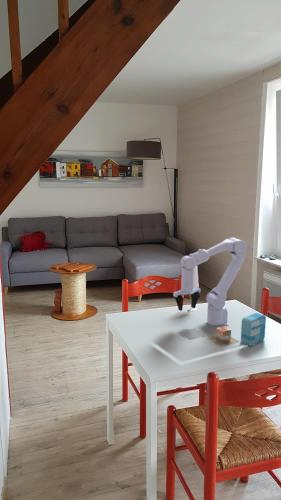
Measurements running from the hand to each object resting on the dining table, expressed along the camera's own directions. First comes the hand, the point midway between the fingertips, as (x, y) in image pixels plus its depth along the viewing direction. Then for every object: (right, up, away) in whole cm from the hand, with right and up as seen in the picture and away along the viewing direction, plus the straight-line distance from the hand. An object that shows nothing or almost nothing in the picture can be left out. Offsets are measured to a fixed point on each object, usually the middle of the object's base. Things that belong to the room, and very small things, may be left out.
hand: (186, 309), depth 197 cm
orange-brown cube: (+14, -11, -15) cm, 24 cm away
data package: (+27, -13, -15) cm, 34 cm away
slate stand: (+1, -11, -9) cm, 14 cm away
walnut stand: (+14, -13, -15) cm, 24 cm away
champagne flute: (+6, -4, +28) cm, 29 cm away
